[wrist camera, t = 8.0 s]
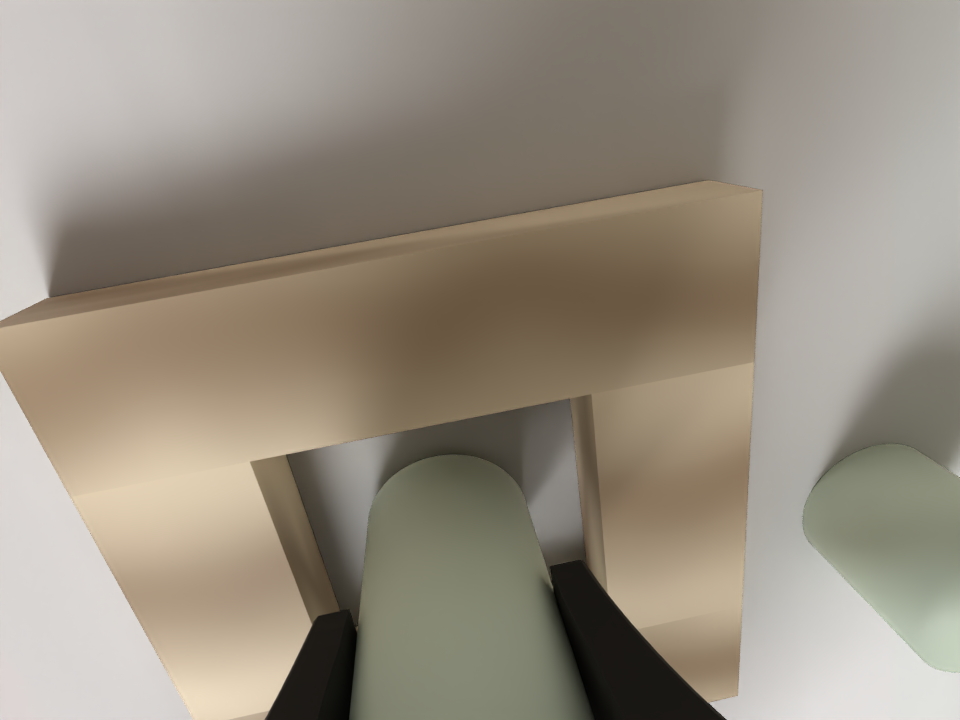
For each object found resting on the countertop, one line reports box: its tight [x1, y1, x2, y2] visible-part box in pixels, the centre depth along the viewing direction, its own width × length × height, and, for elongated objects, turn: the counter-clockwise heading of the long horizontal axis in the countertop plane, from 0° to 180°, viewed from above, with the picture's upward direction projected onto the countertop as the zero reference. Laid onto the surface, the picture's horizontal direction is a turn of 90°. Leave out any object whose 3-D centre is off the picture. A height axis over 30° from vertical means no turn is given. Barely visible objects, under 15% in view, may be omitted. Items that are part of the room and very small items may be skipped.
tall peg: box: [349, 454, 595, 720], centre depth 10 cm, size 4×4×8 cm
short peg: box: [802, 444, 960, 673], centre depth 15 cm, size 4×4×4 cm
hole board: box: [0, 180, 763, 720], centre depth 14 cm, size 14×14×2 cm
